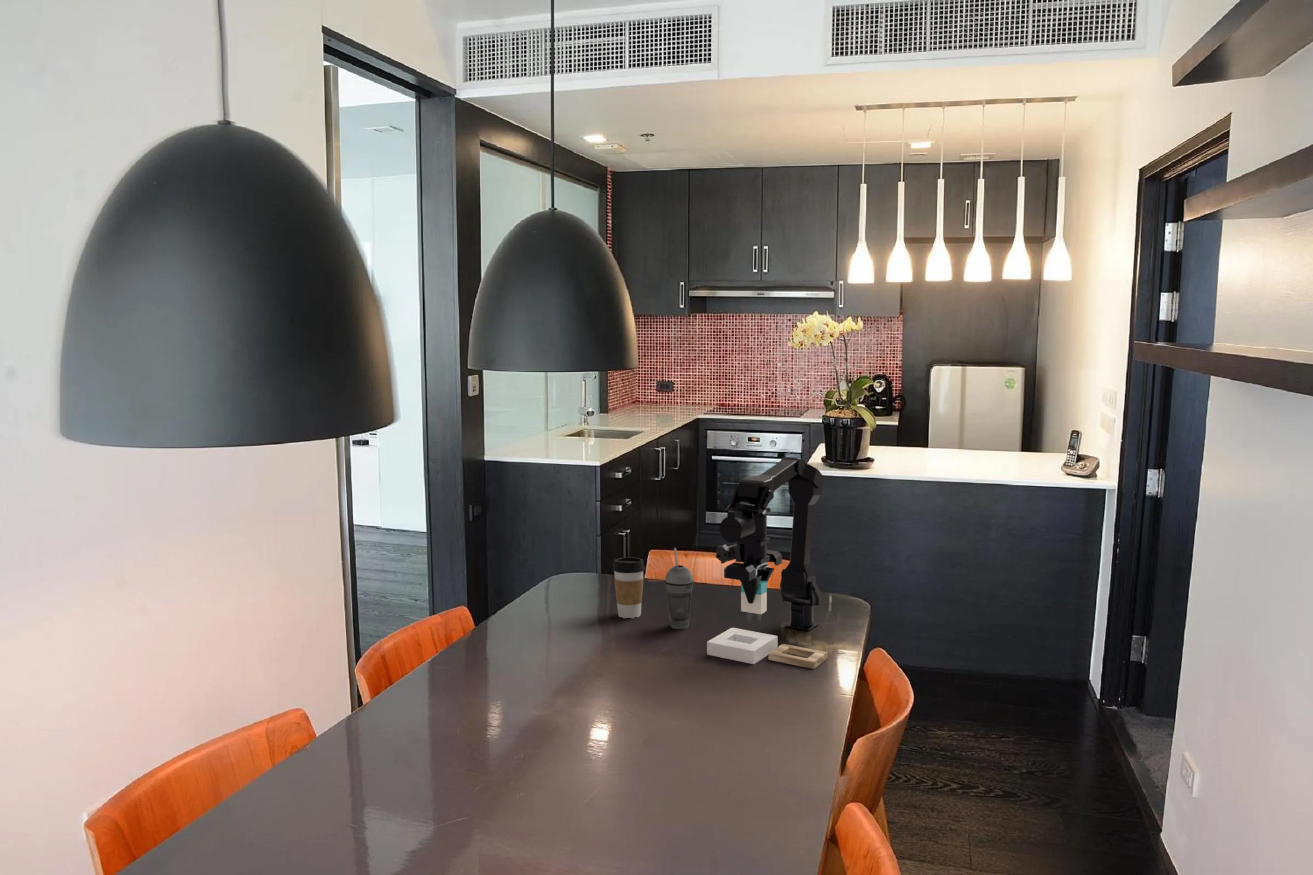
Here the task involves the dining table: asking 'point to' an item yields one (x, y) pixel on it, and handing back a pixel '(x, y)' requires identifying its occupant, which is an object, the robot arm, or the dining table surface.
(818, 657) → the holster
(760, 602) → the plug
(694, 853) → the dining table surface
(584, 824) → the dining table surface
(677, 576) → the beverage cup
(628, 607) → the coffee cup
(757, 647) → the port block
